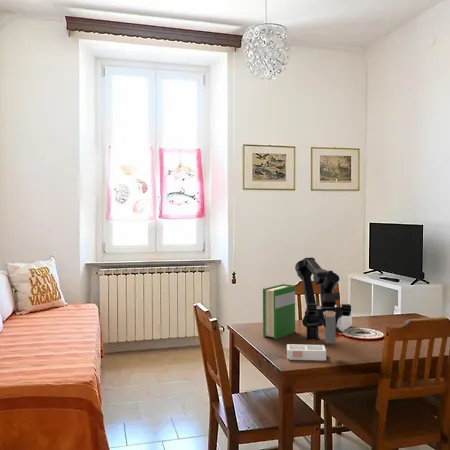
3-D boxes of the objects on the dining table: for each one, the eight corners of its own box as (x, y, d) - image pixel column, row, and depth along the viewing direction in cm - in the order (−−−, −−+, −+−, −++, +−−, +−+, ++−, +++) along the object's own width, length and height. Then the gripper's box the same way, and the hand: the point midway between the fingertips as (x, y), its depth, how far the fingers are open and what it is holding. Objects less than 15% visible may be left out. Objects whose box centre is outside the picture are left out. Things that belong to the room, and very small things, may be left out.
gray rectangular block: (324, 340, 203) (324, 310, 202) (334, 340, 202) (334, 310, 202) (325, 343, 199) (325, 312, 198) (335, 343, 198) (335, 312, 198)
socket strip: (286, 353, 207) (286, 344, 207) (324, 354, 205) (324, 345, 205) (287, 359, 198) (287, 350, 198) (326, 360, 196) (326, 351, 196)
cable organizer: (334, 324, 258) (334, 302, 257) (353, 326, 251) (353, 304, 251) (323, 330, 245) (323, 307, 245) (342, 333, 239) (342, 310, 239)
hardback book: (275, 339, 228) (275, 290, 228) (263, 336, 233) (262, 288, 232) (295, 332, 242) (295, 285, 241) (283, 329, 247) (282, 283, 246)
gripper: (306, 285, 204) (309, 316, 194) (350, 285, 203) (355, 317, 192) (305, 299, 212) (307, 330, 202) (347, 300, 211) (352, 331, 200)
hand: (330, 327), depth 199 cm, fingers closed on gray rectangular block, 4 cm apart
